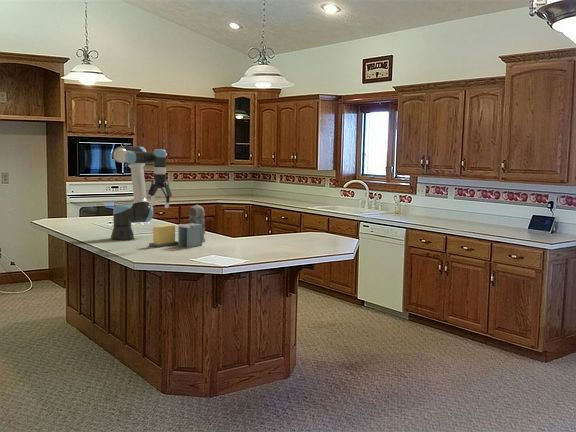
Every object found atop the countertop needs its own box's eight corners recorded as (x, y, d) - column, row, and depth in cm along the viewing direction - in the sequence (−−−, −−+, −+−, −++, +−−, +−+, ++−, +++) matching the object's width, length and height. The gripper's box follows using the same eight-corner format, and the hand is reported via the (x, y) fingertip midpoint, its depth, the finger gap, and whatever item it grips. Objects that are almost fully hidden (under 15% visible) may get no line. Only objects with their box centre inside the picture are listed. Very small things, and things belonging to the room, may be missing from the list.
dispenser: (178, 246, 387) (178, 224, 386) (192, 244, 397) (192, 222, 395) (188, 247, 382) (188, 225, 380) (202, 245, 391) (202, 224, 390)
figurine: (198, 243, 401) (198, 205, 398) (185, 240, 411) (185, 204, 408) (209, 241, 408) (209, 204, 405) (196, 239, 418) (196, 203, 415)
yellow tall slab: (153, 245, 385) (153, 226, 384) (169, 242, 396) (169, 224, 395) (158, 246, 382) (158, 227, 381) (175, 243, 393) (175, 225, 392)
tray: (149, 246, 385) (149, 243, 385) (170, 243, 399) (170, 240, 399) (158, 247, 380) (158, 244, 380) (179, 244, 394) (179, 241, 394)
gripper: (142, 172, 391) (142, 205, 394) (168, 175, 376) (168, 209, 378) (152, 172, 397) (151, 204, 400) (177, 174, 382) (177, 208, 384)
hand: (159, 206), depth 389 cm, fingers open, 13 cm apart
